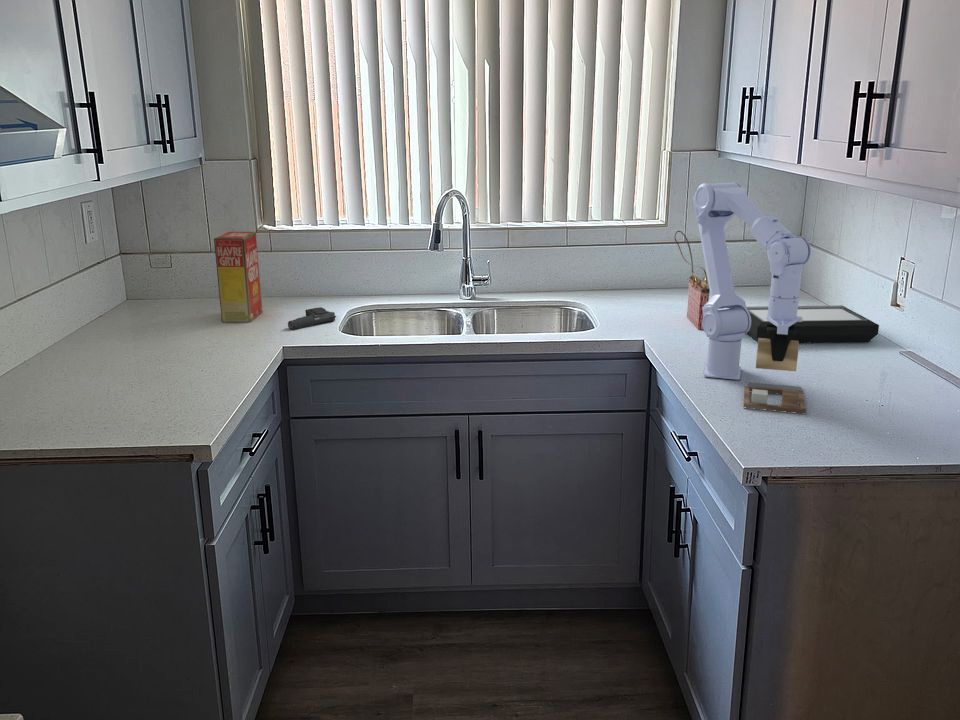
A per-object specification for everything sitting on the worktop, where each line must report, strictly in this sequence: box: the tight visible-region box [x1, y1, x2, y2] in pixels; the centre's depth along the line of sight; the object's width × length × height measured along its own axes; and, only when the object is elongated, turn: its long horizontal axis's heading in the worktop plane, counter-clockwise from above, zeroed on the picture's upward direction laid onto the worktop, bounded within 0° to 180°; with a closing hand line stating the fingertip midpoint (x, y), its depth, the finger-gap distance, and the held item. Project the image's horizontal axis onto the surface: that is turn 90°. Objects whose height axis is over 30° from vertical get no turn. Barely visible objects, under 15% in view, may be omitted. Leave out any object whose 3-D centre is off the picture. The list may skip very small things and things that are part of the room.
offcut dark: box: [780, 389, 799, 407], centre depth 167 cm, size 3×3×4 cm
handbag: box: [673, 230, 710, 331], centre depth 231 cm, size 7×21×25 cm, turn 179°
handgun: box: [287, 306, 337, 331], centre depth 238 cm, size 3×16×12 cm
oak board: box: [755, 338, 800, 372], centre depth 170 cm, size 2×8×6 cm, turn 72°
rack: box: [743, 385, 807, 414], centre depth 171 cm, size 12×12×1 cm
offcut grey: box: [750, 389, 769, 404], centre depth 169 cm, size 3×3×3 cm
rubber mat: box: [748, 381, 803, 391], centre depth 178 cm, size 5×11×1 cm, turn 72°
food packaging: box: [213, 231, 264, 323], centre depth 240 cm, size 13×9×25 cm
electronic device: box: [746, 304, 880, 344], centre depth 220 cm, size 32×6×20 cm
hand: (777, 358), depth 171 cm, fingers closed on oak board, 2 cm apart
